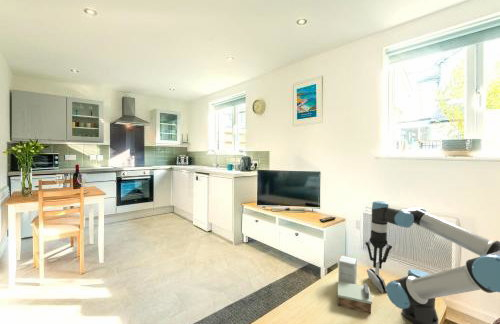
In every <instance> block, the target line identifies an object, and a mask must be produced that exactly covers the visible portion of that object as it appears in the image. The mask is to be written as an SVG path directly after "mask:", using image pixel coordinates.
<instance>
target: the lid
mask: <svg viewBox="0 0 500 324" xmlns="http://www.w3.org/2000/svg"><path fill="white" fill-rule="evenodd" d="M338 297H340V298H345V299H350V300H355V301H359V302H364V303H369V304H371V305H372V304H373V300H372V296H371V291H370V287H369V286H368V283H366V282H364V283H363V285H361V284H357V283H356V284H350V283H345V282H340V281H337V298H338Z"/></svg>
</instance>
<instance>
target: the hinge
mask: <svg viewBox="0 0 500 324" xmlns="http://www.w3.org/2000/svg"><path fill="white" fill-rule="evenodd" d="M366 273H367V276H368V279H369V280H370V281H371V283H373V285H374V286H375V287H376V288H377V289H378V290H379V291H380V292H381V293H385V292H386V289H387V288H386V286H387V284H386V282H385V279H384V278H383V277H382V275H381V274H380V273H379V275H376V274H375V268H374V267H370V268H367V269H366Z"/></svg>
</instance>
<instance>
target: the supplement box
mask: <svg viewBox="0 0 500 324" xmlns="http://www.w3.org/2000/svg"><path fill="white" fill-rule="evenodd" d="M338 261H339V262H338V278H337V279H338V281H340V282H345V283H350V284H356V285H357V273H358V272H357V265H358V260H357V258H354V257H350V256H347V255H341V256H340V259H339V260H338ZM338 281H337V282H338Z"/></svg>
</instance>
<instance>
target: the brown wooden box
mask: <svg viewBox="0 0 500 324" xmlns="http://www.w3.org/2000/svg"><path fill="white" fill-rule="evenodd" d="M337 306H338V307H340V308H345V309H349V310H352V311H353V310H354V311H357V312H358V311H359V312H363V313H367V314H371V313H372V304H369V303H364V302H359V301H355V300H350V299H345V298H340V297H338V296H337Z"/></svg>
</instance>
